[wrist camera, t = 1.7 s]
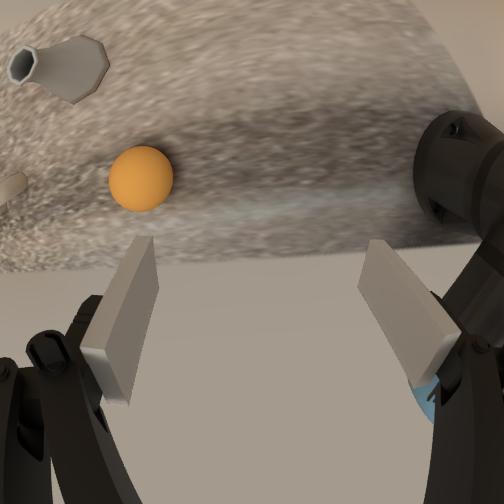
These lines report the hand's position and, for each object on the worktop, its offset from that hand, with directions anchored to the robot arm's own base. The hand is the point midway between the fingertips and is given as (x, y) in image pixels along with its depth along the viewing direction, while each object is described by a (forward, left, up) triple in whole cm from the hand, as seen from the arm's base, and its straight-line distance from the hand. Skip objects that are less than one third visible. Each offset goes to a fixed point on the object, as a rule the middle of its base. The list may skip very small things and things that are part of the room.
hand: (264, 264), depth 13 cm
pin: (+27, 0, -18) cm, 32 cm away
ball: (+10, 0, -15) cm, 17 cm away
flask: (+17, -12, -18) cm, 27 cm away
